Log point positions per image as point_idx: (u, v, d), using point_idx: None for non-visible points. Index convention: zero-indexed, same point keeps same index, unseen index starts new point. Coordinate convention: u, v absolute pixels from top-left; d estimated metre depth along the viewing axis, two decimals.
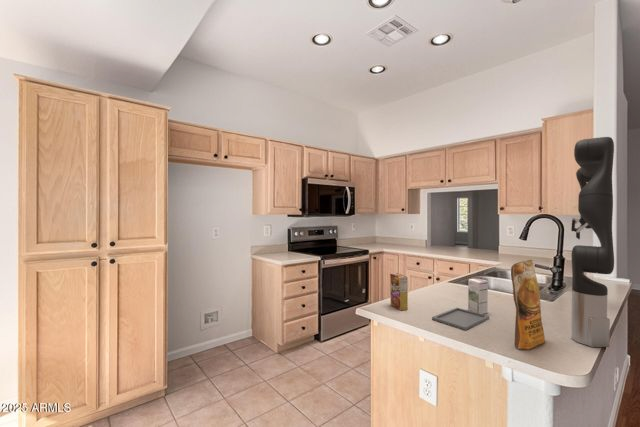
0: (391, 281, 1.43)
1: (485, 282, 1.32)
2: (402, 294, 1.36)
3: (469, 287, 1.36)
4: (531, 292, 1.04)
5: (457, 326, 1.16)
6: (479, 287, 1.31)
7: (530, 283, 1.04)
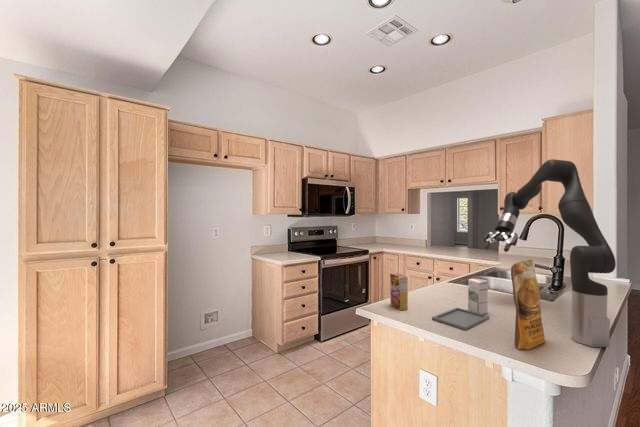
0: (391, 281, 1.43)
1: (485, 282, 1.32)
2: (402, 294, 1.36)
3: (469, 287, 1.36)
4: (531, 292, 1.04)
5: (457, 326, 1.16)
6: (479, 287, 1.31)
7: (530, 283, 1.04)
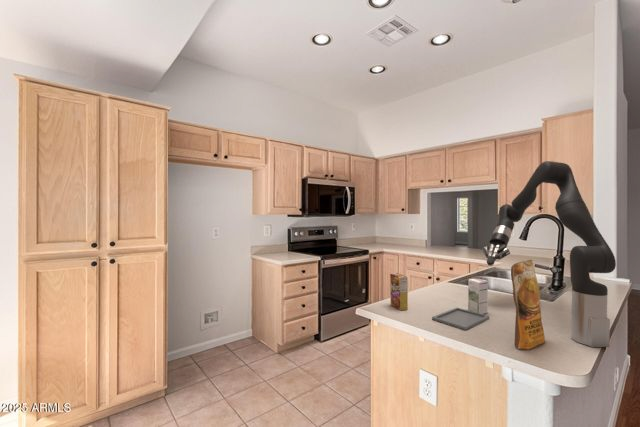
0: (391, 281, 1.43)
1: (485, 282, 1.32)
2: (402, 294, 1.36)
3: (469, 287, 1.36)
4: (531, 292, 1.04)
5: (457, 326, 1.16)
6: (479, 287, 1.31)
7: (530, 283, 1.04)
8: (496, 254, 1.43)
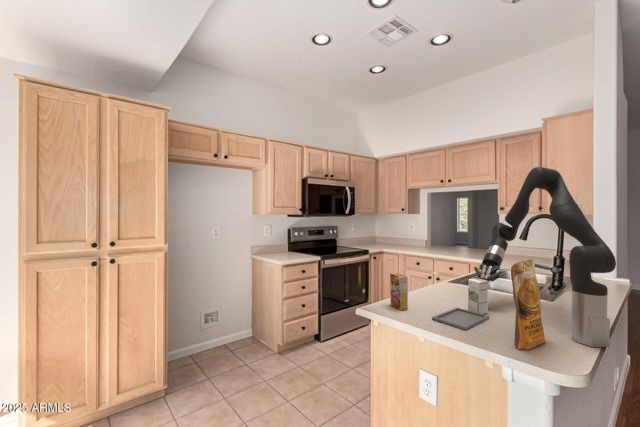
0: (391, 281, 1.43)
1: (485, 282, 1.32)
2: (402, 294, 1.36)
3: (468, 287, 1.36)
4: (531, 292, 1.04)
5: (457, 326, 1.16)
6: (479, 287, 1.31)
7: (530, 283, 1.04)
8: (489, 276, 1.38)
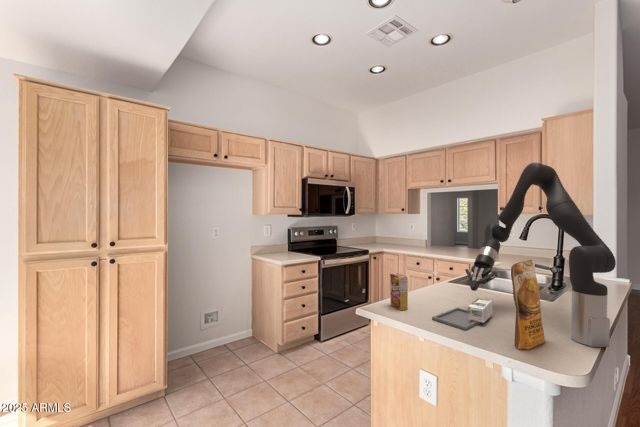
0: (391, 281, 1.43)
1: (483, 312, 1.18)
2: (402, 294, 1.36)
3: None
4: (531, 292, 1.04)
5: (457, 326, 1.16)
6: (485, 320, 1.20)
7: (530, 283, 1.04)
8: (480, 278, 1.33)
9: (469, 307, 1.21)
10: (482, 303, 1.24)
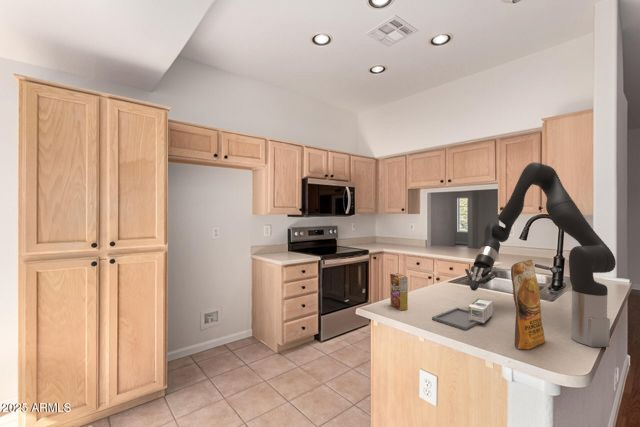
0: (391, 281, 1.43)
1: (484, 312, 1.18)
2: (402, 294, 1.36)
3: None
4: (531, 292, 1.04)
5: (457, 326, 1.16)
6: (485, 320, 1.20)
7: (530, 283, 1.04)
8: (480, 278, 1.33)
9: (469, 307, 1.21)
10: (482, 303, 1.24)
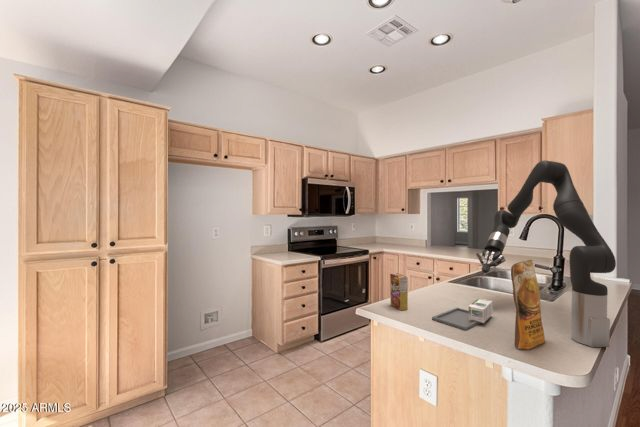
0: (391, 281, 1.43)
1: (484, 312, 1.18)
2: (402, 294, 1.36)
3: None
4: (531, 292, 1.04)
5: (457, 326, 1.16)
6: (485, 320, 1.20)
7: (530, 283, 1.04)
8: (491, 261, 1.40)
9: (469, 307, 1.21)
10: (482, 303, 1.24)
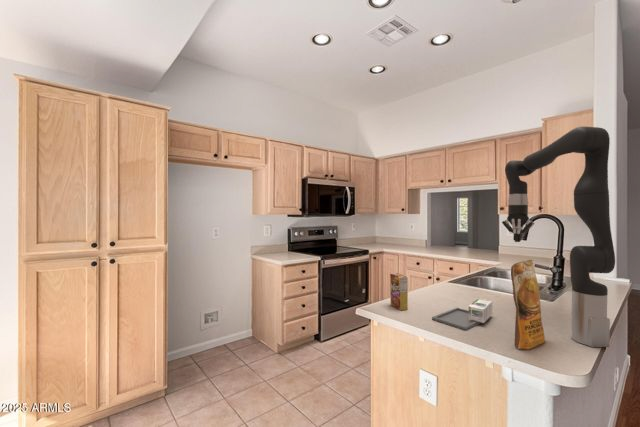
0: (391, 281, 1.43)
1: (484, 312, 1.18)
2: (402, 294, 1.36)
3: None
4: (531, 292, 1.04)
5: (457, 326, 1.16)
6: (485, 320, 1.20)
7: (530, 283, 1.04)
8: (520, 228, 1.37)
9: (469, 307, 1.21)
10: (482, 303, 1.24)
